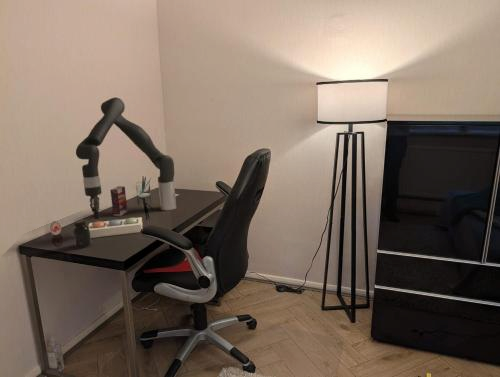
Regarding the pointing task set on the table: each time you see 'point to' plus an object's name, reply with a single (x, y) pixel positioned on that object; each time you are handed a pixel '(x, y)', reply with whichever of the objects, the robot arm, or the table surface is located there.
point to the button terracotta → (98, 224)
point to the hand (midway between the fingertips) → (97, 218)
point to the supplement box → (118, 200)
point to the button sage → (131, 221)
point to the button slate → (114, 222)
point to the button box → (115, 229)
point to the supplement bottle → (81, 234)
